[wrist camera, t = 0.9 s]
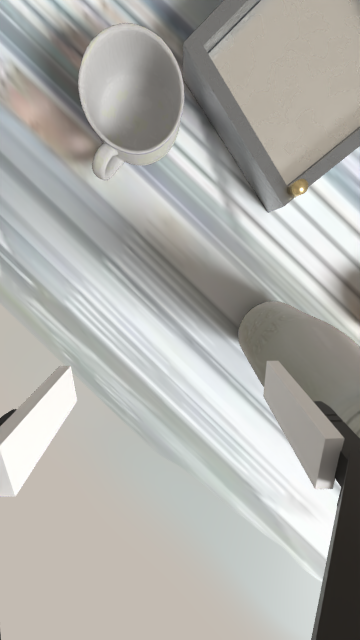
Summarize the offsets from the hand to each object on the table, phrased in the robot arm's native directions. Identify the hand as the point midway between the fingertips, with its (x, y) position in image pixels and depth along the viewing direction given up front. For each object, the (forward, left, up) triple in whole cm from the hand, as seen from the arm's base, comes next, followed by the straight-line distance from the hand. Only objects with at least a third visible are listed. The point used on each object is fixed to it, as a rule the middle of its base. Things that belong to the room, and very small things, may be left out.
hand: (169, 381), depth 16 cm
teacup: (-21, +10, -24) cm, 33 cm away
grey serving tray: (-12, +29, -24) cm, 39 cm away
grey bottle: (+12, +9, -24) cm, 28 cm away
